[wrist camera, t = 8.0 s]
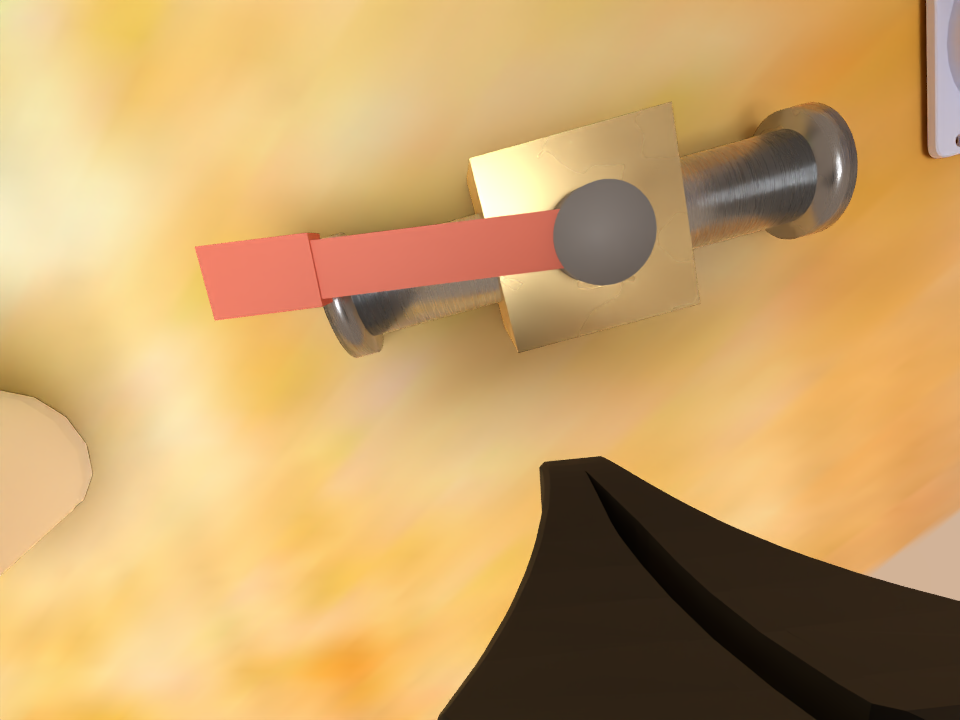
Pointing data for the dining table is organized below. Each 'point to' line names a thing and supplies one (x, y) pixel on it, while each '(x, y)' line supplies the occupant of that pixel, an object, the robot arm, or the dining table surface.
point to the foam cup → (36, 473)
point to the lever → (435, 254)
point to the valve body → (676, 203)
